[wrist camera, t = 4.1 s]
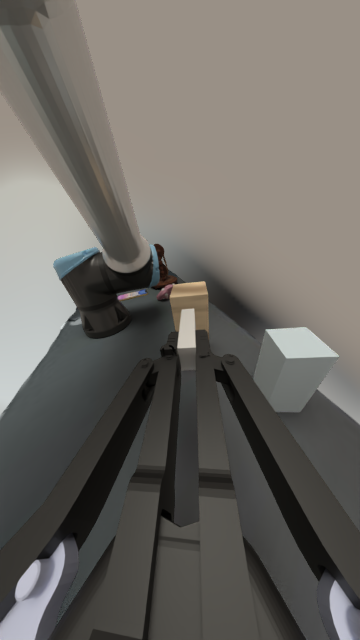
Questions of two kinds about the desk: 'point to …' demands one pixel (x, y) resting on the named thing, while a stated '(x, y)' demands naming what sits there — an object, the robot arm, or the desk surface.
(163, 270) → the scroll
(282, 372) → the white block
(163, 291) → the pink curved piece
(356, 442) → the desk surface
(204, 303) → the oak block
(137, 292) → the smartphone
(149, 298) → the desk surface
